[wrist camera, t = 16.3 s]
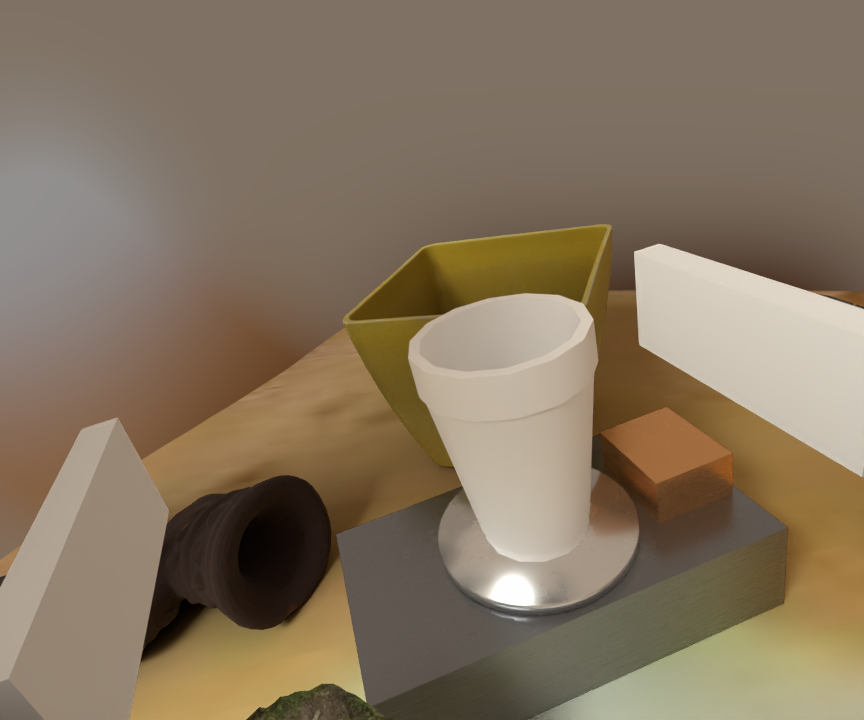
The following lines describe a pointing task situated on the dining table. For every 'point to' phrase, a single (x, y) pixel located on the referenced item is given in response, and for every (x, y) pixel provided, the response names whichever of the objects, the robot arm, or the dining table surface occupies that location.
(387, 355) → the flower pot
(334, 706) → the moss-covered rock
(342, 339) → the dining table surface
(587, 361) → the foam cup
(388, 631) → the block
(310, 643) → the dining table surface
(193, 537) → the pipe
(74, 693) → the robot arm
